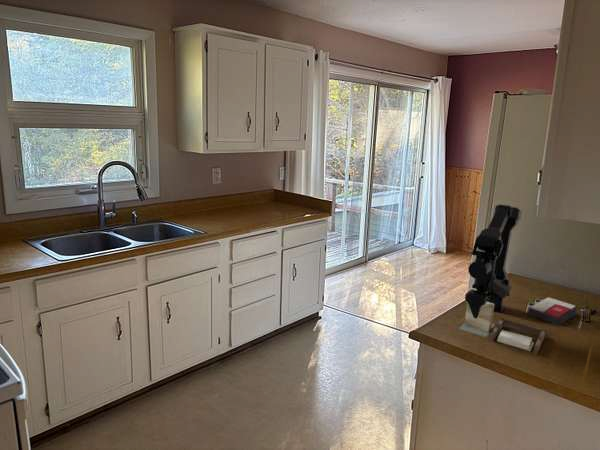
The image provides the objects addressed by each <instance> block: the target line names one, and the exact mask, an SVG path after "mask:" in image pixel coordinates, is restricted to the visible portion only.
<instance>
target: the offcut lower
mask: <svg viewBox="0 0 600 450" xmlns="http://www.w3.org/2000/svg"><path fill="white" fill-rule="evenodd" d="M496 342H497V343H501V344H504V345H508V346H512V347H513V348H514V347H515V348H518V349H522V350H525V351H528V352H530V351H531V350H532V349H533V347H534V345H535V342H534V341H532V342H531V344H530V347H529V350H528V349H524V348H521V347H517V346H513V345H510V344H506V343H502V342H499V341H498V339H496Z"/></svg>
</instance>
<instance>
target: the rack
mask: <svg viewBox="0 0 600 450" xmlns="http://www.w3.org/2000/svg"><path fill="white" fill-rule="evenodd" d="M503 327H504V328H507V329H511V330H515V331H518V332H523V333H526V334H529V335H532V336H535V337H538V338H537V340H536V342H535V343H534V345H533V352H532V354H533V355H536V356H537V355H538V353H539V351H540V348H541V346H542V344H543V341H544V340H545V337H546V334H547V333H546V332H547V330H546V329H544V328H540V327H536V326H532V325H529V324H524V323H521V322H516V321H513V320H510V319H506V318H500V320H499V321H498V322H497V324H495V326H494V327H493V329H492V330H491V331H490V333H489V334H490V335H489V341H490V342H494V341H495V339H496V337H497V336H498V335H499V334H500V332H501V331H502V330H503V329H502V328H503Z"/></svg>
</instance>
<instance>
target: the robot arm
mask: <svg viewBox="0 0 600 450" xmlns="http://www.w3.org/2000/svg"><path fill="white" fill-rule="evenodd" d="M521 217H522V210H521V209H519V207H516V206H511V205H509V204H501V203H500V204H497V205H495V207H494V212H493V216H492V219H491V220H490V223H489V225H488V227H487V228H485V229H482V230H481V231H480V233H479V235H477V236H476V239H475V241H474V244H473V248H472V251H471V255H472V256H476V257H475V260H474V261H472V262H471V263H470V264H469V266H468V269H467V272H468V274H469V276H471V277H472V279H474V283H473V284H472V285H471V288H472V289H469V290H468V291H467V292H466V293H465V295H464V300H465V301H466V303H467V302H468V304H469V307H470V309H471V312H472V315H473V317H474V318H476V319H477V317H478V315H479V312H480V309H481V306H482V305H485V303H486V302H490V303H494V311H493V312H498V313H501V312H502V311H503V310H504V308H505V305H503V300H504V299H505V298H506V297H509V296H510V292H511V289H512V286H511V285H510V284H511V283H510V282H511V281H510V279H509V275H508V272H507V271H506V265H507V260H508V259H507V258H508V252H509V248H510V242H511V236H512V232H513V230H514V229H515V228H516V227H517V226H518V224H519V221H521Z"/></svg>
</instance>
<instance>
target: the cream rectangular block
mask: <svg viewBox="0 0 600 450" xmlns="http://www.w3.org/2000/svg"><path fill="white" fill-rule="evenodd" d="M494 312H495V311H494V303H490V302H486V303H485V305H482V306H481V309H480V312H479V315H478V317H477V319H476V318H474V317H473V315H472V312H471V309H470V307H469V304H468V302H467V301H466V307H465V317H464V323H463V324H464V325H465V326H468V327H472V328H475V329H479V330H482V331H486V332H489V330H490V329H491V325H492V323H493V317H494Z"/></svg>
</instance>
